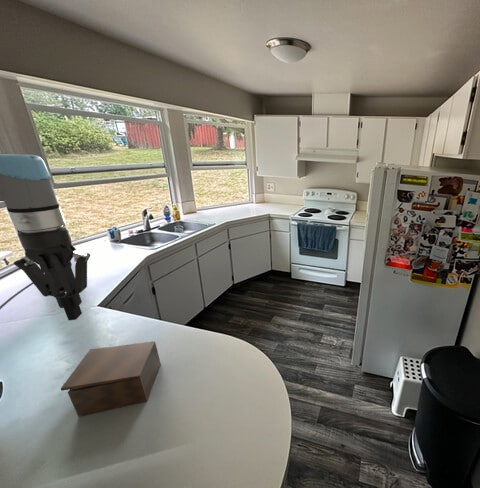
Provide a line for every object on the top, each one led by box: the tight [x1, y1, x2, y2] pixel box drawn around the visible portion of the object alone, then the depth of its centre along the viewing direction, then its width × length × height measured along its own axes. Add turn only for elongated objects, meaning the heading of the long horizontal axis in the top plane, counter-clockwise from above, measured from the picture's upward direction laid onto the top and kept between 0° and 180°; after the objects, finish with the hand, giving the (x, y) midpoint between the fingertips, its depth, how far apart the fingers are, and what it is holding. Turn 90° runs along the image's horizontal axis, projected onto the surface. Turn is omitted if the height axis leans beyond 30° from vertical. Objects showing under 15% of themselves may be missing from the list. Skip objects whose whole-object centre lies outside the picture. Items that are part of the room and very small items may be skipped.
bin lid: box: [60, 340, 156, 392], centre depth 70 cm, size 17×14×1 cm
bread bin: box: [67, 342, 162, 418], centre depth 72 cm, size 16×14×9 cm
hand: (75, 316), depth 63 cm, fingers closed
